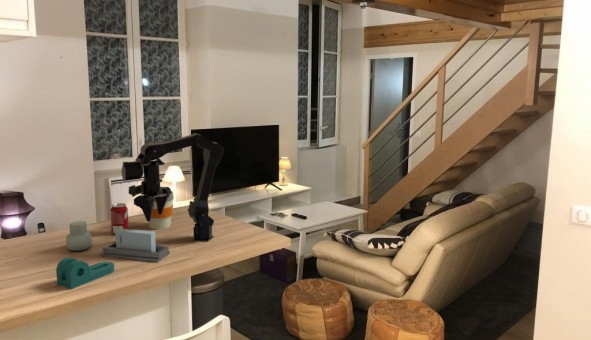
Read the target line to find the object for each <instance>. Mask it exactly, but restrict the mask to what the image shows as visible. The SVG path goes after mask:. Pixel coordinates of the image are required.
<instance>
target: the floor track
mask: <svg viewBox="0 0 591 340" xmlns="http://www.w3.org/2000/svg"><path fill="white" fill-rule="evenodd" d="M155 245H156V244H155ZM169 248H170V246H166V245H156V252H153V251H143V250H133V249H122V248H116V240H115V241H112V242H110V243H109V244H107V245H106V246H104V247H102V253H101V257H104V258H111V259H122V260H123V259H125V260H133V261H143V262H151V263H160V262H161V261H162V260H163V259H165V258H166V257H168V256H169V255H170V254H171V251H170V249H169Z"/></svg>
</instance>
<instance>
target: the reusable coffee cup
mask: <svg viewBox="0 0 591 340" xmlns="http://www.w3.org/2000/svg"><path fill="white" fill-rule="evenodd" d="M174 197H175V196H174V192H173V191H172V190H171V194H170V196H169V198H168V200H167V202H166V204H165V207H164V209H163V212H162V214H161V215H160V214H158V210H157V204H156V200H155V199H154V202H153V204H154V208H153V212H152V216H151V220H150V221H147V223H148V224H147V225H148V228H149V229H152V230H163V229H164V230H165V229H168V228H170V227H171V221H172V216H173V213H174V211H173V210H174Z"/></svg>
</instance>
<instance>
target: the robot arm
mask: <svg viewBox="0 0 591 340" xmlns="http://www.w3.org/2000/svg"><path fill="white" fill-rule="evenodd" d="M192 146H198V148H200V149H202V150H203V153H202V156H203V162H204V164H203V167H202V172H201V175H200V180H199V183H198V188H197V193H196V197H195V199H194V200H193V201H192V200H190V201H189V202H188V203H189V204H188V205H189V206H188V208H187V211H188V215H189V216H188V217H190V219H191V220H193V223H194V226H193V238H192V241H201V242H209V241H211V239H212V238H214V234H213V226H214V223H215V220H214V219H213V218H212V217H211V216H209V212H210V211H209V210H210V208H209V202H208V201H209V197H210V192H211V189H212V188H211V187H212V183H213V180H214V176H215V170H216V167H217V166H218V164H219V163H220V162H221V160H222V157H223V155H224V151H225V149H224V146H223V145H222V144H221V143H218V142H215V141H211V140H209V139H208V138H206V137H204V136H203V135H202V134H199V133H195V132H194V133H191V134H190V135H185V136H181V137H178V138H174V139H170V140H167V141H162V142H161V141H160V142H147V143H144V144H142V146H141V147H140V152H139V154H138V155H137V157H136V158H135V161H123V162H122V165H121V171H120V172H121V177H122V180H123V182H125V181H134V180H141V178H143V180H142V181H141V183H140V184H138V185H135V184H133V185H130V186H128V192H127V193H128V194H129V195H130V196H132V198H133V197H134V198H133V205H134V206H136V207H138V208H139V209H140V210H141V211H142V212H143V213H142V214H143V215H144V217H145V219H146V222H148V221H150V220H151V216H152V212H153V208H154V204H153V202H154V199H155V200H156V204H157V210H158V214H160V215H161V214H162V212H163V209H164V207H165V204H166V202H167V200H168V198H169V196H170V194H171V191H172V190H171V189H172V188H171V187H169V186H161V183H162V182H163V179H162V178H161V176H160V174H161V173H160V166H163V165H166V164H165V162H164V161H163V160H162V159H161V158H162V157H165V155H167V154H169V153H170V152H171V153H172V152H175V151H178V150H181V149H182V150H183V149H185V148H189V147H192Z"/></svg>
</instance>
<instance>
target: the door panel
mask: <svg viewBox="0 0 591 340" xmlns="http://www.w3.org/2000/svg"><path fill="white" fill-rule="evenodd" d="M115 233H116V234H115V242H116V248H122V249H133V250H143V251H153V252H156V231H153V230H152V231H151V230H143V229H142V230H140V229H130V228H129V229H118V230H116V231H115Z"/></svg>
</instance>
